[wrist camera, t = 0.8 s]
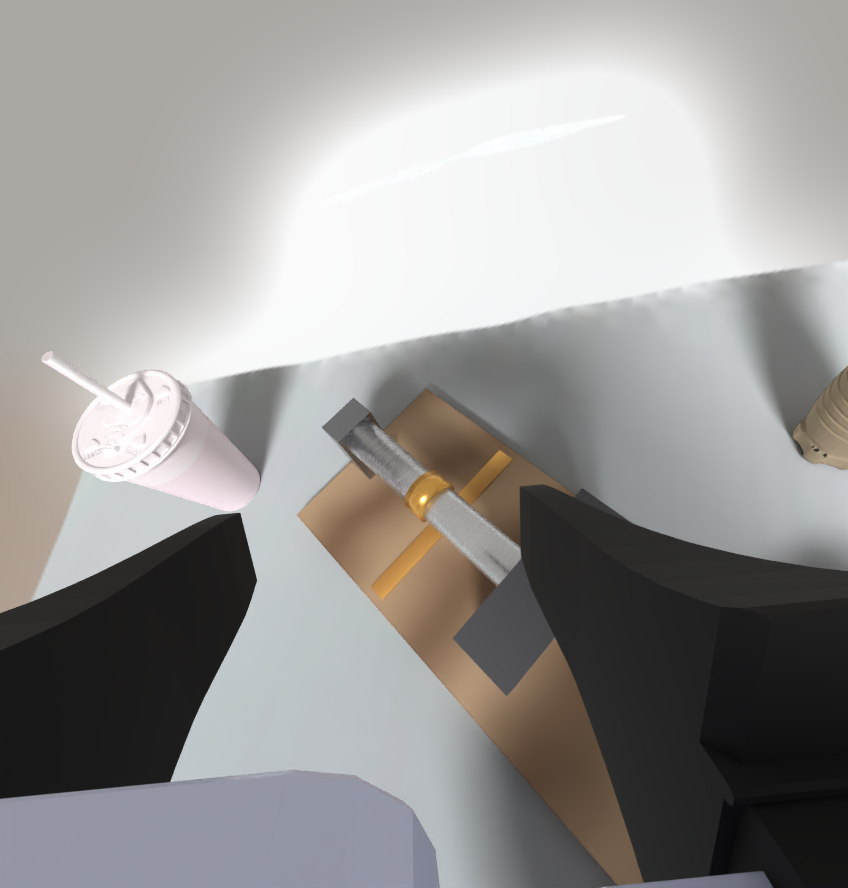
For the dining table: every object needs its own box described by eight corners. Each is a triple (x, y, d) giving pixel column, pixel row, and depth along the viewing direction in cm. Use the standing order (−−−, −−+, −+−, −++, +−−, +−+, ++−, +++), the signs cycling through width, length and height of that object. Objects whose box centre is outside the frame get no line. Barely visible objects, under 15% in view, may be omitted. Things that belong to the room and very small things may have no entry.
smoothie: (284, 443, 31) (129, 301, 19) (268, 528, 28) (71, 424, 16) (208, 450, 33) (18, 321, 20) (185, 532, 30) (-55, 438, 18)
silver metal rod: (740, 748, 18) (814, 777, 13) (707, 798, 17) (772, 847, 12) (381, 440, 28) (352, 396, 24) (355, 466, 28) (320, 426, 23)
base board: (801, 665, 19) (815, 665, 18) (642, 908, 17) (648, 922, 16) (429, 396, 30) (426, 387, 29) (303, 519, 28) (295, 514, 27)
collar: (609, 570, 21) (641, 529, 15) (514, 687, 20) (506, 696, 14) (568, 538, 22) (582, 488, 16) (476, 647, 21) (452, 638, 15)
